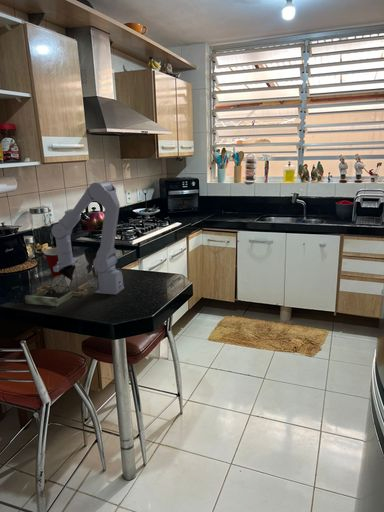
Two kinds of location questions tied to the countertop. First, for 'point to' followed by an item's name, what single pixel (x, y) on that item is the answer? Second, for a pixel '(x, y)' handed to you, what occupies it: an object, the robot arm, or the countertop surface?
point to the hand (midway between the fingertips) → (68, 283)
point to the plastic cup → (52, 259)
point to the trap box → (53, 301)
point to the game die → (61, 283)
